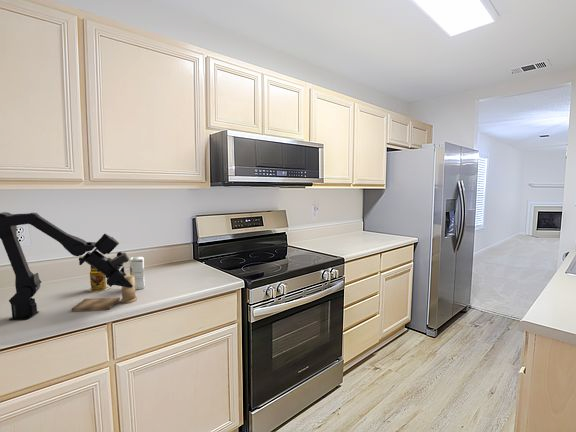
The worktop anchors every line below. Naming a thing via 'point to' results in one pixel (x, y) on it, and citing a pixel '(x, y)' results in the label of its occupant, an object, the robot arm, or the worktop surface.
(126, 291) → the wooden chess pawn
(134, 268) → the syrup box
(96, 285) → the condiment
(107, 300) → the walnut board
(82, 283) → the worktop surface
